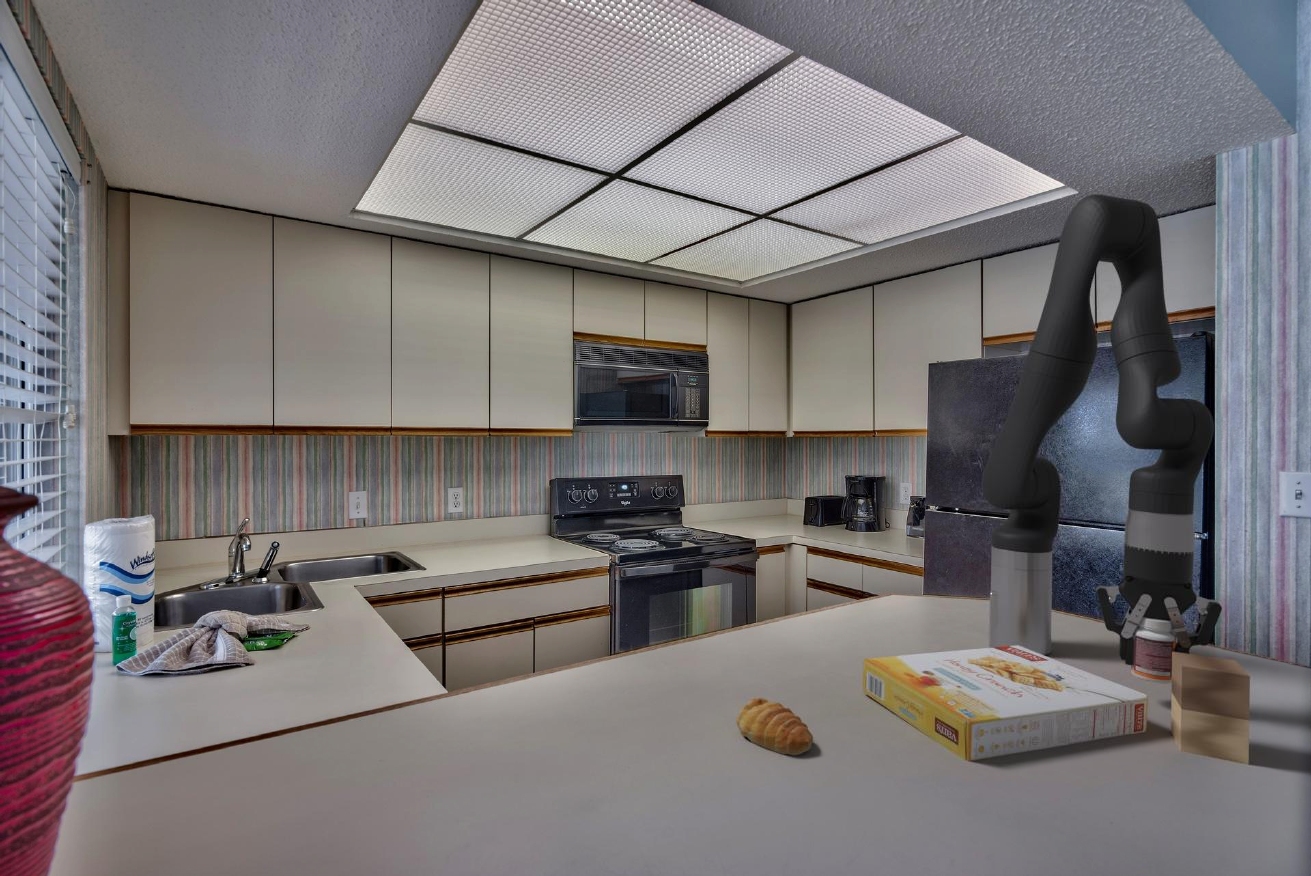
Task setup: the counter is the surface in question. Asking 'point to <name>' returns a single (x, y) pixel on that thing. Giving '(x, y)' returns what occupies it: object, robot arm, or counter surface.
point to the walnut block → (1210, 685)
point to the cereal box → (1002, 700)
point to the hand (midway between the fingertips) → (1152, 667)
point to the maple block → (1210, 734)
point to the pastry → (774, 727)
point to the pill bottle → (1153, 650)
